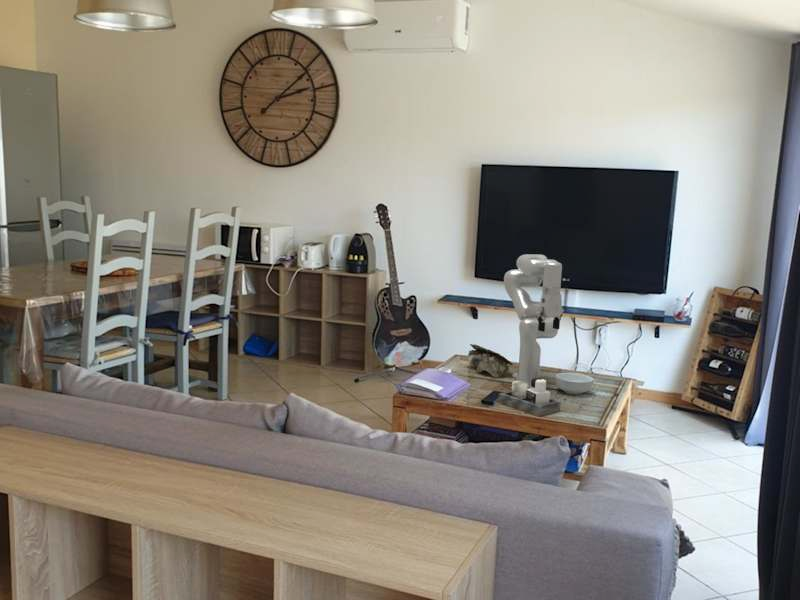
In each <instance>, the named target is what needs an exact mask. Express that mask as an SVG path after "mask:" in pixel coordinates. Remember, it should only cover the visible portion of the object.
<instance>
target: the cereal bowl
mask: <svg viewBox="0 0 800 600" xmlns="http://www.w3.org/2000/svg"><path fill="white" fill-rule="evenodd" d="M554 381H555V384H556V386H557V387H558V388H559V389H560V390H562V391H564V393H565V394H569V395H580V394H583V393H586V392H588V391H589V390H591V389H592V387H593V384H594V377H592V376H590V375H587V374H582V373H576V372H575V373H574V372H559V373H556V374H555V379H554Z"/></svg>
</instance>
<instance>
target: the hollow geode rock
mask: <svg viewBox="0 0 800 600" xmlns="http://www.w3.org/2000/svg"><path fill="white" fill-rule="evenodd" d="M469 345H470V347H472V348H473V349H472V350H468V354H467V361H468V363H469V365H470V366H472V367H473V368H475V369H476V371H478V372H480V373H481V372H484V373H485V372H487V373H489V375H491V376H492V378H496V379H497V378H501V377H502V376H504V374H505V373H506V372H508V371H509V370H510V367H509V365H510V366H512V365H514V364H513V363H512V362H511V360H508V359H507V358H506V357H504V356H502V355H501V354H500V353H498V352H496V351H494V350H491V349H488V348H485V347H482V346H480V345H478V344H473V343H470V344H469Z"/></svg>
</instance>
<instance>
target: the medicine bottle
mask: <svg viewBox="0 0 800 600" xmlns="http://www.w3.org/2000/svg"><path fill="white" fill-rule="evenodd" d="M546 389H547V380H546V379H545V378H541V377H539V378H534V379H532V380H531V388H527V390H526V401H528V402H531V403H534V404H537V405H542V404H547V403H549V399H550V398H551V397H550V396H551V392H550V391H549V390H546Z"/></svg>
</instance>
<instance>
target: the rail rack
mask: <svg viewBox="0 0 800 600" xmlns="http://www.w3.org/2000/svg"><path fill="white" fill-rule="evenodd" d="M527 389H528V388H527V382H524V381H516V380H513V381H512V383H511V390H509V391H505V392H504V391H503V392H500V393H498V403H499V404H502V405H504V406H508V407H511V408H514V409H517V410H519V411H522V412H524V413H525V412H526V413H528V414H531V415H534V416H537V417H542V416H545V415H549V414H554V413H557V412H560V411H561V405H562V404H561V403H562V402H561V400H560V401H559V400H556V399H553V398H551V397H550V399H549V403H547V404H542V405H537V404H534V403H531V402H528V401H526V390H527Z"/></svg>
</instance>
